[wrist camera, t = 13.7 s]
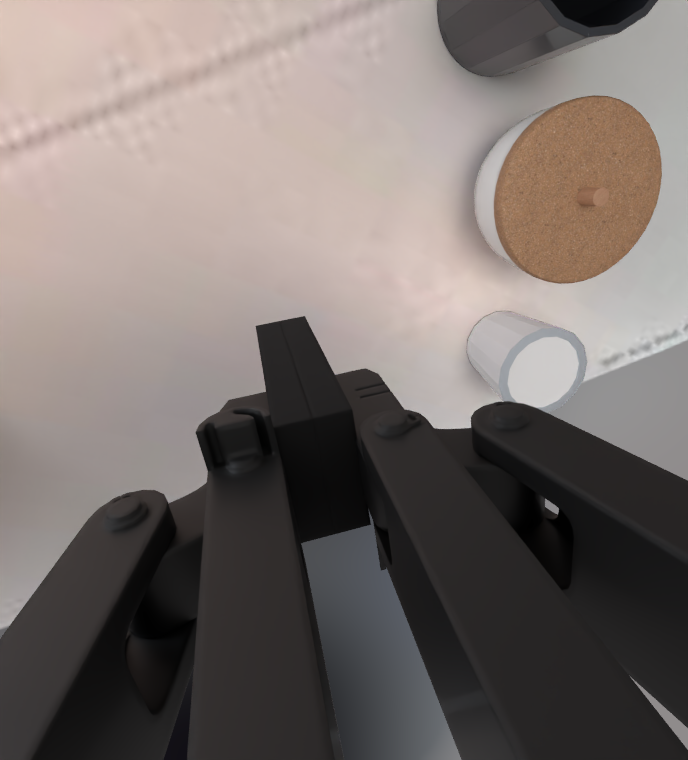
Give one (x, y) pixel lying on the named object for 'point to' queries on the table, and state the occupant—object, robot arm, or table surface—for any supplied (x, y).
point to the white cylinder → (527, 359)
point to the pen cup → (529, 29)
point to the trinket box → (569, 189)
